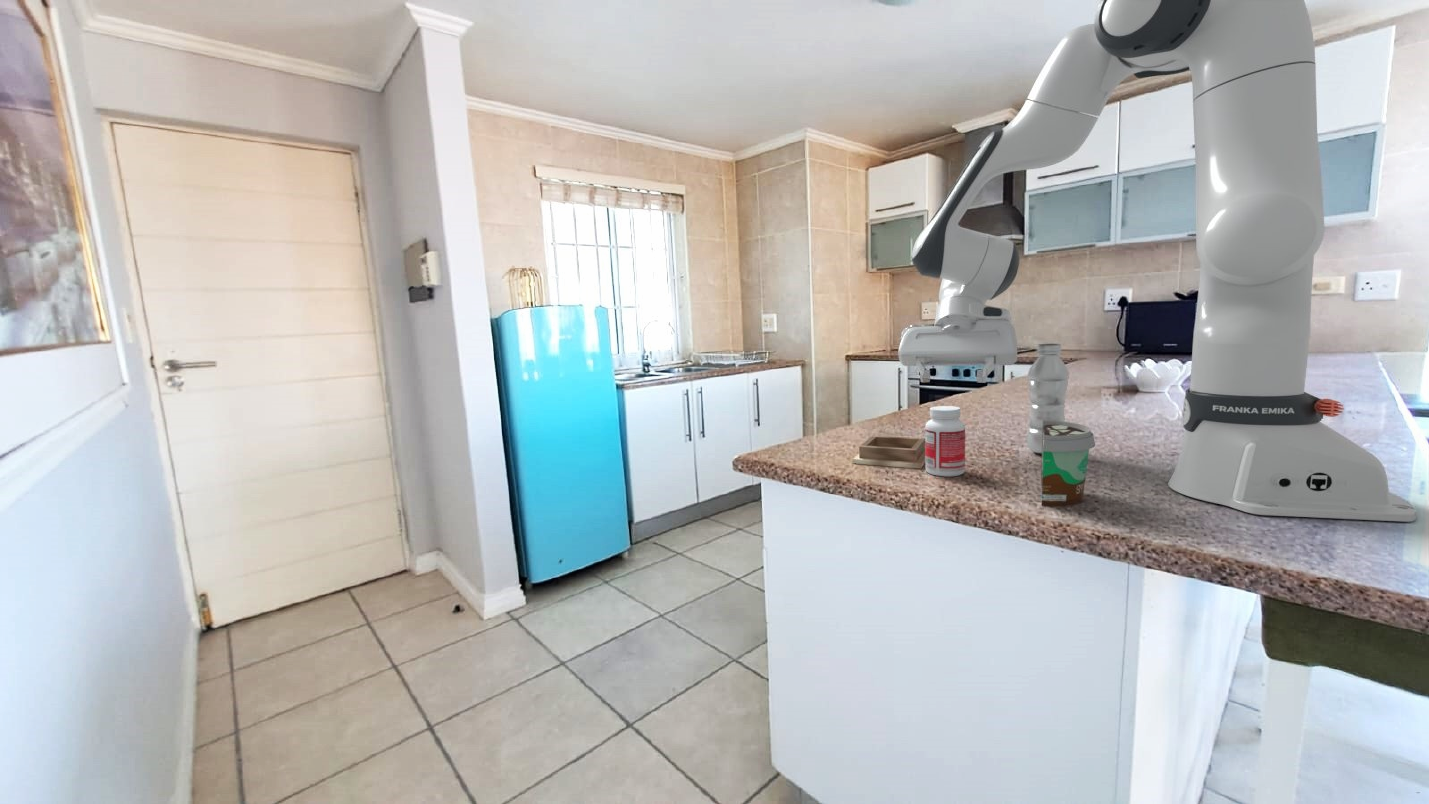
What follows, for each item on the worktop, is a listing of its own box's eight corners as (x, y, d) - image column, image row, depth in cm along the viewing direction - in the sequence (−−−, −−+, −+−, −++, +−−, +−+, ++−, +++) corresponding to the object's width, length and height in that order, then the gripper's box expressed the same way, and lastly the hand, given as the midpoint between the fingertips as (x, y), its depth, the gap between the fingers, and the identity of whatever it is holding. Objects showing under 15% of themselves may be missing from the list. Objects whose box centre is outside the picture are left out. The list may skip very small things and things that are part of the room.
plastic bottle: (1034, 458, 99) (1037, 346, 96) (1020, 449, 105) (1022, 344, 102) (1074, 457, 97) (1078, 344, 95) (1057, 448, 104) (1060, 342, 101)
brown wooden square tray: (931, 452, 106) (931, 437, 106) (920, 468, 96) (920, 451, 96) (869, 448, 112) (868, 434, 112) (852, 463, 102) (852, 447, 102)
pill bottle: (971, 471, 93) (971, 406, 92) (955, 479, 89) (956, 412, 87) (935, 465, 98) (935, 404, 96) (918, 473, 93) (918, 409, 92)
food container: (1097, 514, 71) (1100, 438, 70) (1041, 508, 74) (1043, 436, 73) (1089, 487, 82) (1091, 421, 80) (1040, 483, 85) (1042, 419, 83)
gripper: (900, 315, 109) (890, 369, 102) (1018, 309, 99) (1015, 369, 92) (905, 336, 114) (895, 390, 107) (1018, 332, 103) (1016, 391, 96)
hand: (952, 380), depth 99 cm, fingers open, 8 cm apart
